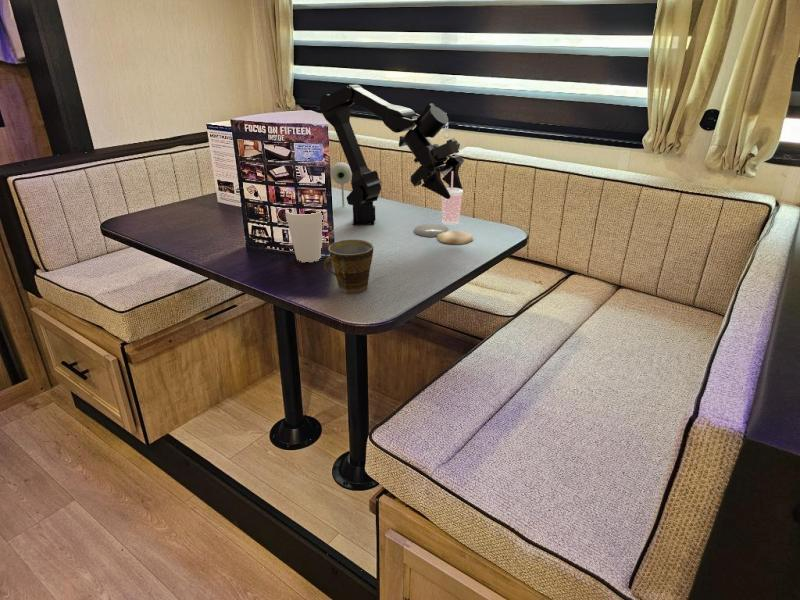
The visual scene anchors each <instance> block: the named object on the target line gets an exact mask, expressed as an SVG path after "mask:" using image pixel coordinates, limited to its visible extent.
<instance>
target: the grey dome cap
mask: <svg viewBox="0 0 800 600" xmlns="http://www.w3.org/2000/svg"><path fill="white" fill-rule="evenodd" d="M413 231H414V233H415V234H416V235H418V236H420V237H429V238H433V237H435V238H437V237H436V236H437V235H438V234H440V233H441V234H442V233H443V232H447V231H449V228H448V227H447V226H446V225H442V224H436V223H434V224H433V223H430V224H429V223H426V224H420V225H417V226H416V227H414V229H413Z"/></svg>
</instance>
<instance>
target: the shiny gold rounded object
mask: <svg viewBox="0 0 800 600" xmlns="http://www.w3.org/2000/svg"><path fill="white" fill-rule="evenodd" d="M436 239H437V241H438V240H439V242H440V243H442V242H443V244H446V243H447V244H448V245H464V244H468V242H469V243H471V242H472V241H473V235H472V234H471V233H469V232H466V231H462V230H448V231H447V232H443V233H442V234H441V233H440V234H438V235H437V237H436ZM470 241H471V242H470ZM447 244H446V245H447Z"/></svg>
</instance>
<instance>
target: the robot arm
mask: <svg viewBox="0 0 800 600" xmlns="http://www.w3.org/2000/svg"><path fill="white" fill-rule="evenodd" d="M354 104H356V105H357V106H359V107H361V108H363V109H364V110H366V111H367V112H369V113H372V114H373V115H375V116H376V117H378V118H379V119H381V120H382V122H383V124H384V126H386V127H387V128H388V129H389V130H390V131H392V132H393V133H395V134H397V133H398V134H399V133H402V132H403V133H404V132H406V131H407V132H406V133H405V134H404V135H400V136H399V140H398V147H400V148H401V147H405V146H407V147H408V149H409V150H410V152H411V153H412V155H413V156H414V157H415V158H414V159H413V161H414V163H415V164H417V163H418V164H419V165H420V166H419V167H418V168H417V169H416V170H415V171H414V172H413V173H412V174H411V175H410V183H411V184H412V186H413V187H414V188H415V187H419V186H421V188H426V189H427V190H430V191H432V192H433V193H435V194H437V195H438V196H443V197H444V198H446V199H449V198H450V197H451V196H450V194H449V192H448V190H447V189H446V188H447V187H446V185H445V184H444V182H445V183H446V184H447V185H449V187H451V175H452V171H453V188H460V189H462V190H463V191H464V189H463V185H462V183H461V180H460V175H459V169H460V167H461V166H462V165H463V164H464V162H465V159H464V158H463V157H462V156H461V155H458V153H460V145H461V144H460V143H459V141H458V140H457V139H456V138H454V137H453V138H450V139H447V140H446V143H444V144H441V145H439V144H437V143H432V141H431V140H430V139H429V138H435V137H436V136H437V135H438V134H439V132H440V131H442V129H443V128H444V127H445V126H447V124H448V122H449V117H448V115H447V113H446V112H445V111H443V109H441V108H439V107H437V106H435V104H434V103H427V104H426V106H425V108H424V109H423V110H422V112H421V113H420V114H418V113H416V112H415V110H413V109H411V108H409V107H405V106H402V105H396V104H393V103H389V102H388V101H387V100H384V99H383V98H381V97H379V96H377V95H376V94H374V93H372V92H370V91H368V90H366V89H365V88H363V86H361V85H359V84H349V85H346V86H344V87H343V88H341V89H339V90H337V91H334V92H332V93H330V94H323V95H321V98H320V99H319V103H318V107H319V109H320V112H321V113H322V116H323V118H324V119H325V121H326V122H327V123H329V124H330V125H331V126H332V127H333V128H334V130H335V131H334V132H335V133H336V136H337V139H338V141H339V144H340V146H341V148H342V149H341V150H342V151H343V154H344V156H345V158H346V161H347V164H348V165H349V167H350V169H351V172H352V178H351V180H350V184H351V189H352V191H351V192H350V193H349V194H348V195H347V197H346V202H347V205H349V206H352V220H353V221H352V225H354V226H358V225H359V226H361V225H362V226H364V225H374V224H375V222H376V221H377V218H376V206H375V205H374V202H375V201H378V199H379V195H380V194H381V190H382V185H381V184H382V181H381V180H380V178H379V174H378V171H377V170H371V169H370V168H369V166H368V165H367V163H366V160H365V157H364V155H363V152H362V150H361V147H360V145H359V142H358V139H357V137H356V134H355V133H354V130H353V127H352V124H351V122H350V121H351V120H350V119H351V108H350V107H351V106H352V105H354ZM454 154H456V155H454ZM451 155H453V156H451ZM449 156H450V157H449ZM441 175H443V177H441ZM422 181H423V183H422ZM443 181H444V182H443Z"/></svg>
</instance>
